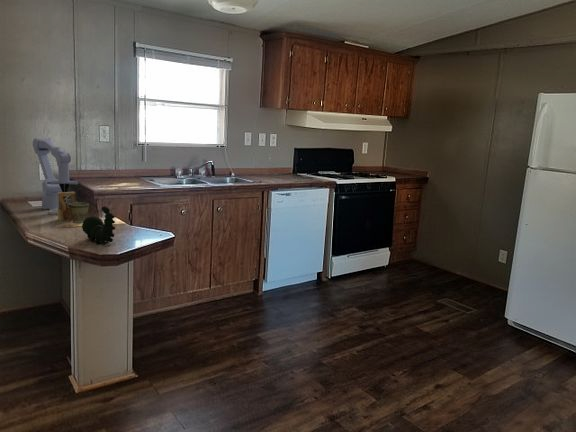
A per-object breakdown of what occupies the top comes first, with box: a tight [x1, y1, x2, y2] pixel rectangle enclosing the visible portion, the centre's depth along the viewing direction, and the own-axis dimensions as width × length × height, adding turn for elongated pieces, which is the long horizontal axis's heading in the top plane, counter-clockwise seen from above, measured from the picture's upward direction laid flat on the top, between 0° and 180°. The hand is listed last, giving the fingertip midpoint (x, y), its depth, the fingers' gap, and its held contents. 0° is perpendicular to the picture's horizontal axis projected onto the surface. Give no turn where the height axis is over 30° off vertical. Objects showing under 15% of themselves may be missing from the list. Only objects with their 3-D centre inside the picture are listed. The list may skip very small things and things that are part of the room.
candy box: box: [57, 191, 77, 222], centre depth 258 cm, size 9×4×15 cm, turn 129°
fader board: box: [49, 209, 58, 216], centre depth 278 cm, size 20×8×2 cm, turn 117°
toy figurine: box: [81, 206, 116, 244], centre depth 217 cm, size 9×19×25 cm
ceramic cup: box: [69, 201, 90, 224], centre depth 256 cm, size 13×10×10 cm
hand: (64, 196), depth 278 cm, fingers closed
